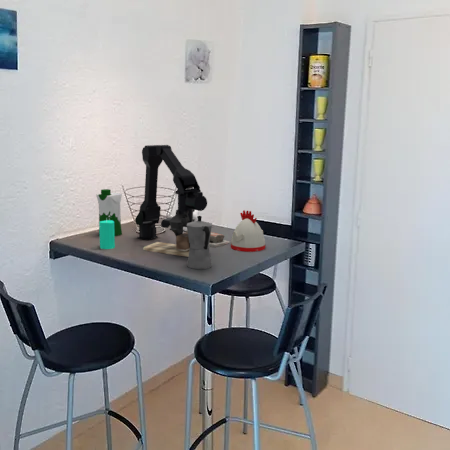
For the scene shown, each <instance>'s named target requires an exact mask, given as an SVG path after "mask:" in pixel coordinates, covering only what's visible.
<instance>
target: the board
mask: <svg viewBox="0 0 450 450" xmlns="http://www.w3.org/2000/svg"><path fill="white" fill-rule="evenodd" d="M143 251H147V252H153V253H160V254H167V255H173V256H174V255H175V256H180V257H181V256H182V257H188V256H189V250H188V251H178V250H176V243H175V244H174V243H168V242H161V241H160V242H159V241H156V242H153V243H151V244H148V245H145V246H144V247H143Z"/></svg>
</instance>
